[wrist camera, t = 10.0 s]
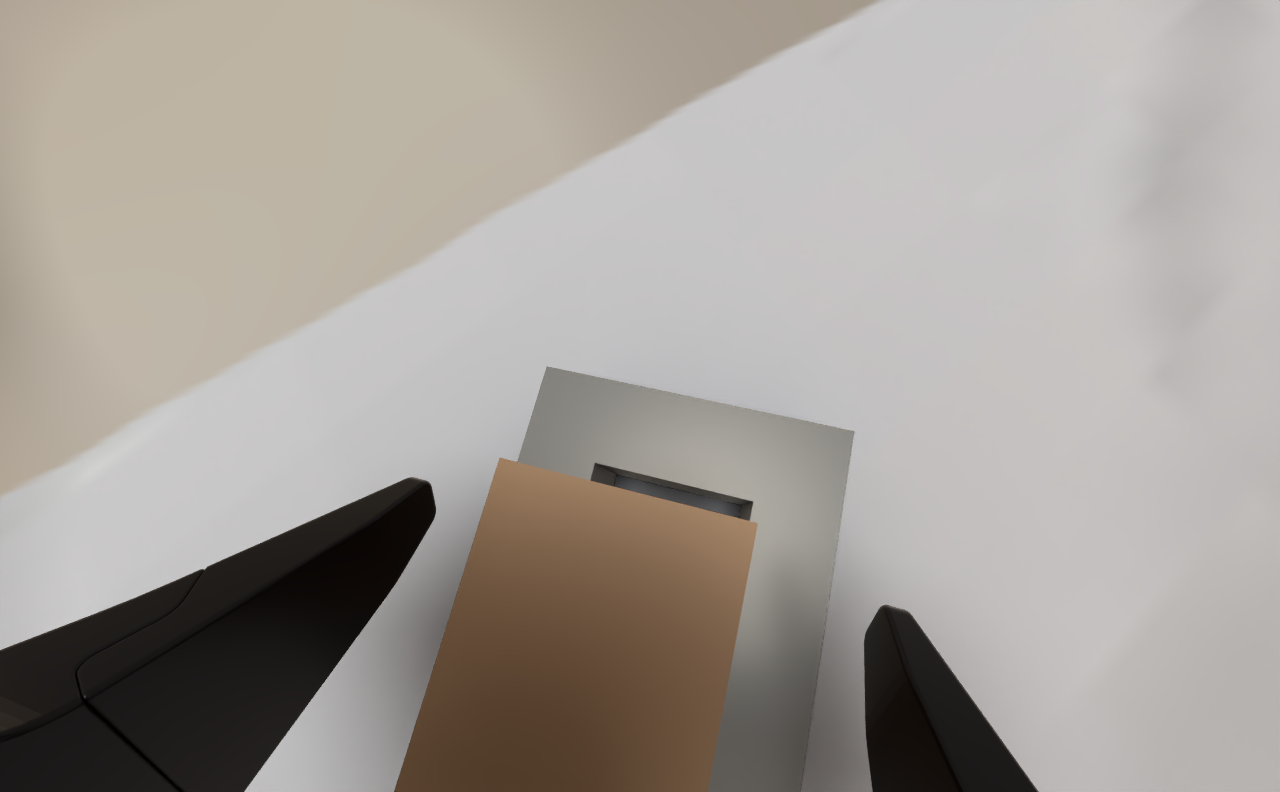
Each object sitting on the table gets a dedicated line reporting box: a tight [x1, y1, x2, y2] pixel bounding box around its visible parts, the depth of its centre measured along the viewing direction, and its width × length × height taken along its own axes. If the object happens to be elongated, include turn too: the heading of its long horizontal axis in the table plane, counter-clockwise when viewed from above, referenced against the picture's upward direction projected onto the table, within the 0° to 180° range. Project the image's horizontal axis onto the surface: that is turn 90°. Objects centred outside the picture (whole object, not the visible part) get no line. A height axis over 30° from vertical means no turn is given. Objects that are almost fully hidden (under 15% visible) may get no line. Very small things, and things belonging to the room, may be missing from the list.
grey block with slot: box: [518, 367, 854, 792], centre depth 16 cm, size 12×10×4 cm
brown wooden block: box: [394, 458, 758, 792], centre depth 12 cm, size 5×4×12 cm
